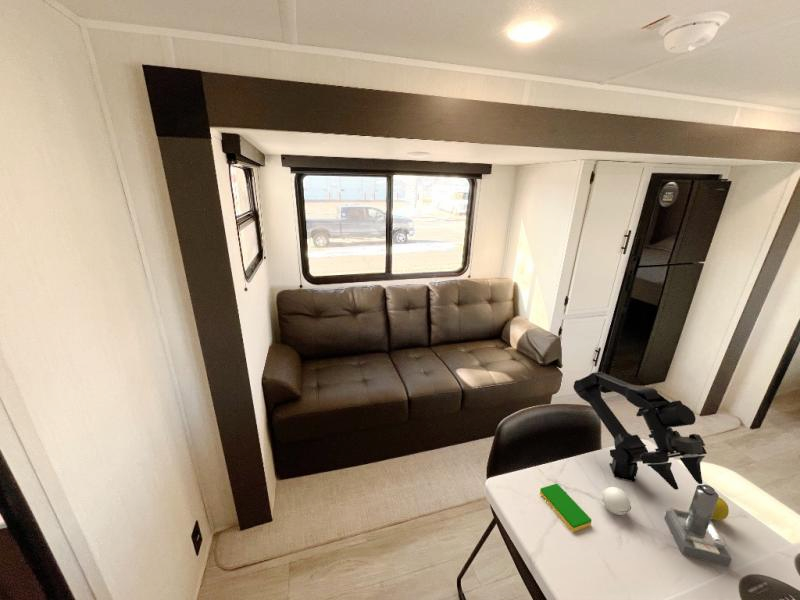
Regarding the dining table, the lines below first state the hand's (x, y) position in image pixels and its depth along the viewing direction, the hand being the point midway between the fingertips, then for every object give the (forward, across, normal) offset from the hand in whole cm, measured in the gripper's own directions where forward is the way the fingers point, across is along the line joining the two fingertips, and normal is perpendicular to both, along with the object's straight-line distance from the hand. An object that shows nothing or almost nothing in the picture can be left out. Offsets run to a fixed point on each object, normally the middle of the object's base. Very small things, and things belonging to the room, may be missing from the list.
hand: (688, 486), depth 91 cm
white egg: (+5, -13, +15) cm, 21 cm away
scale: (+14, -1, +6) cm, 15 cm away
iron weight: (+10, 0, +4) cm, 11 cm away
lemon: (+11, +12, +8) cm, 18 cm away
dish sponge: (+2, -29, +19) cm, 35 cm away
